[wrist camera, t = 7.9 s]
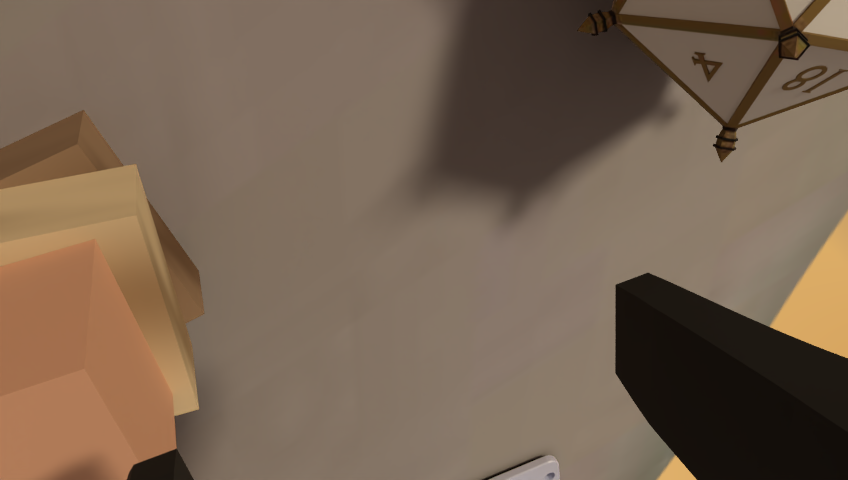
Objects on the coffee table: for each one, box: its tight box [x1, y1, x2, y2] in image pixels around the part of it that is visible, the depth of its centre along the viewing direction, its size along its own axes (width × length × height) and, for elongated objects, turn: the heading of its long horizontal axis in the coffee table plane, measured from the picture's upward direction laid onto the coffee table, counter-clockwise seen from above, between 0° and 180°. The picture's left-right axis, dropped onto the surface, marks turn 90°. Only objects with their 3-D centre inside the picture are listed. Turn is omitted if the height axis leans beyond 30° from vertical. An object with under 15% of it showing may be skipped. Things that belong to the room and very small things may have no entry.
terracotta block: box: [0, 239, 177, 480], centre depth 13 cm, size 4×4×4 cm
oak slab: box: [0, 164, 199, 416], centre depth 16 cm, size 6×6×2 cm
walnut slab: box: [0, 110, 204, 323], centre depth 18 cm, size 6×6×2 cm
